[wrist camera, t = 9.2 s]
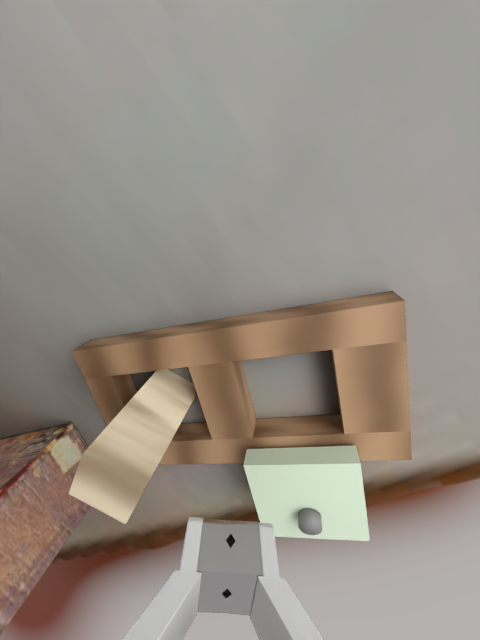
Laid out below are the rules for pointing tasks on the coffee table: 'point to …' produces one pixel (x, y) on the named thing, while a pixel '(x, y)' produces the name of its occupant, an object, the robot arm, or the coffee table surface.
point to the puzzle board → (261, 342)
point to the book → (35, 508)
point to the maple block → (132, 446)
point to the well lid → (309, 491)
